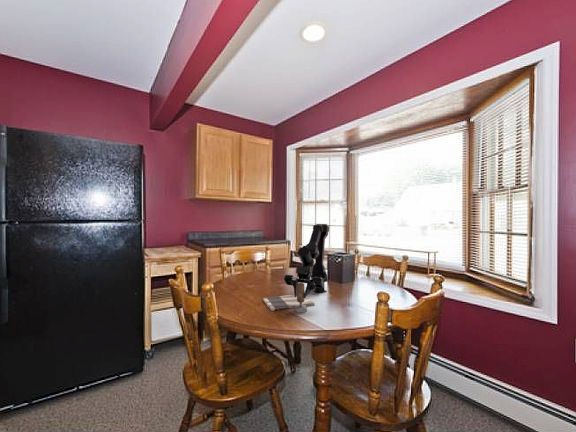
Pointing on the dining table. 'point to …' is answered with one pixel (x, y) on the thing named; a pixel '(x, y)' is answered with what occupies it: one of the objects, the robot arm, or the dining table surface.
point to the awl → (300, 299)
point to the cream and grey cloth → (285, 302)
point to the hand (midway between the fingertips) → (299, 297)
